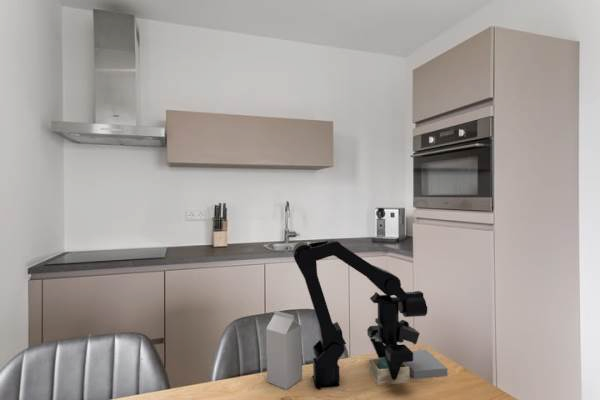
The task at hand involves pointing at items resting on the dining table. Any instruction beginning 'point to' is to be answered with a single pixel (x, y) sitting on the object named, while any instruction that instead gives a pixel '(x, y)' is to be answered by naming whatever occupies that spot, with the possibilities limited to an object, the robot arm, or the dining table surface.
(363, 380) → the dining table surface
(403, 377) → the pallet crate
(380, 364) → the cargo block
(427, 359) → the block
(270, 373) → the milk carton
